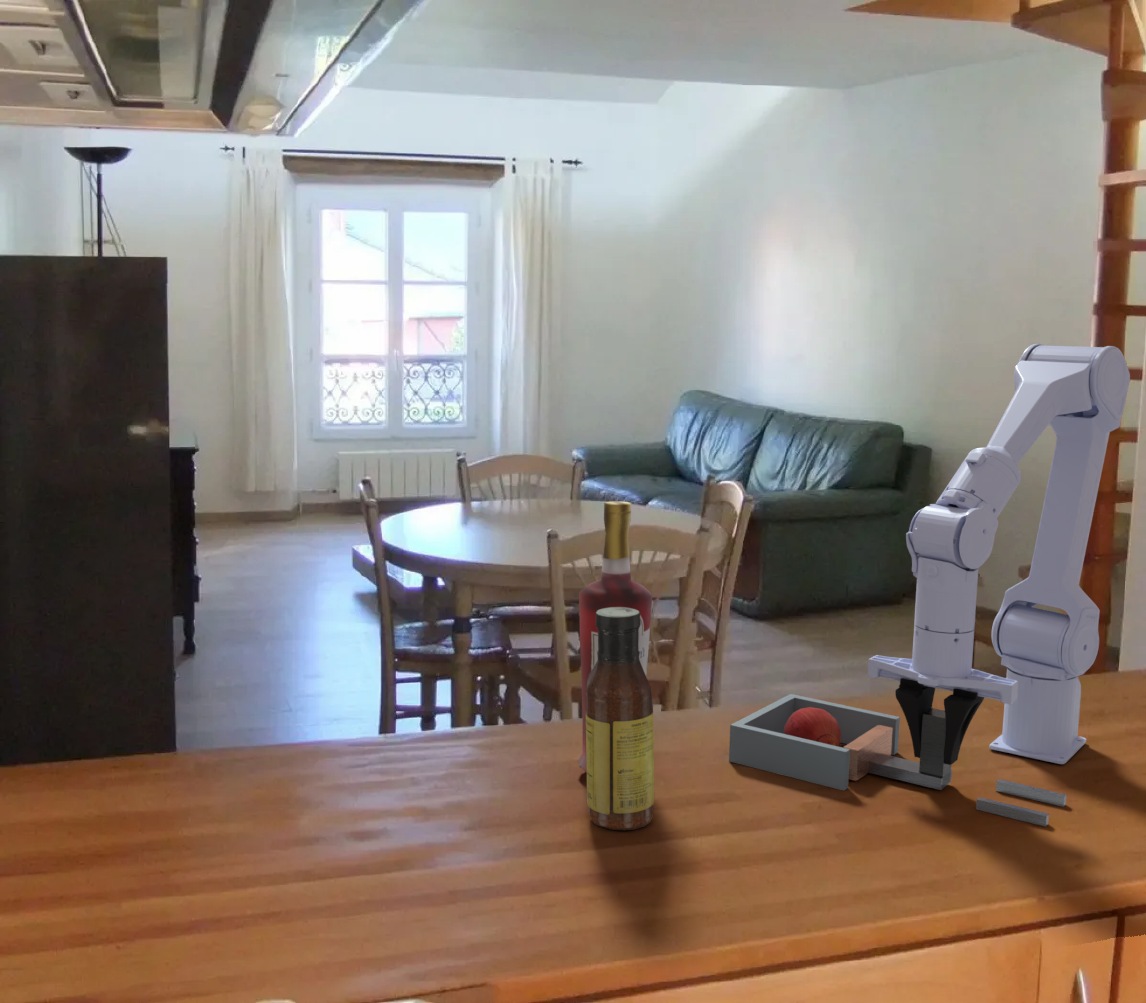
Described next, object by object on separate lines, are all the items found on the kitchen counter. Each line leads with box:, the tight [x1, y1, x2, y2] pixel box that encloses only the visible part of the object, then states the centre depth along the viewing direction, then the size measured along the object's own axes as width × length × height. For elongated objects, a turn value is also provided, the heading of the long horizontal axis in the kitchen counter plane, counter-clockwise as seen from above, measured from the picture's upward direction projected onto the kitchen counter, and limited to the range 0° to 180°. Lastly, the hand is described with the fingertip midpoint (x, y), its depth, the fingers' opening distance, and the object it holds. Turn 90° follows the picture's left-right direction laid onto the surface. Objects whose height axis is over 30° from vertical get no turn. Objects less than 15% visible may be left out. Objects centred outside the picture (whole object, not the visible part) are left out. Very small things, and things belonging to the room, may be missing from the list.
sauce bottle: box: [586, 607, 655, 831], centre depth 113 cm, size 6×6×20 cm
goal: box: [728, 693, 901, 791], centre depth 132 cm, size 14×13×4 cm
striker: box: [842, 707, 953, 791], centre depth 126 cm, size 9×9×7 cm
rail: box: [975, 778, 1067, 828], centre depth 120 cm, size 7×6×1 cm
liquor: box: [577, 500, 653, 774], centre depth 124 cm, size 7×7×28 cm
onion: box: [784, 707, 841, 747], centre depth 131 cm, size 6×6×8 cm
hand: (935, 758), depth 124 cm, fingers closed on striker, 2 cm apart
